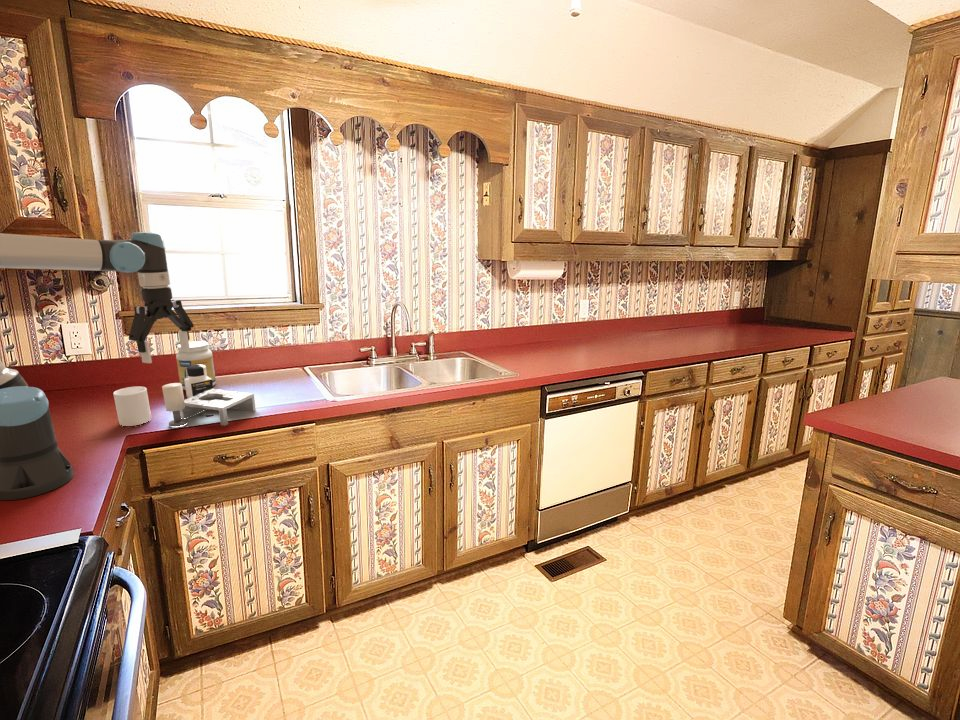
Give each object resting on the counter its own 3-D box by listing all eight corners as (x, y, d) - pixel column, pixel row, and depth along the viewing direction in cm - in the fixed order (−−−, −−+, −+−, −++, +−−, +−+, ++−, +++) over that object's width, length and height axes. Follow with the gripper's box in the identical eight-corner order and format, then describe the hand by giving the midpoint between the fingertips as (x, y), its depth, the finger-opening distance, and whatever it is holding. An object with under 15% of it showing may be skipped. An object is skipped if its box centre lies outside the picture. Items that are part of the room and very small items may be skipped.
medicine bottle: (193, 401, 177) (188, 369, 173) (186, 397, 181) (181, 365, 178) (214, 397, 182) (210, 365, 178) (207, 392, 186) (202, 361, 183)
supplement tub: (180, 393, 185) (173, 349, 180) (181, 384, 195) (174, 342, 190) (217, 388, 190) (211, 346, 186) (215, 380, 201) (210, 339, 196)
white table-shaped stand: (224, 425, 156) (222, 407, 155) (181, 419, 161) (178, 402, 159) (255, 410, 169) (253, 393, 168) (214, 404, 174) (212, 388, 172)
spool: (178, 429, 153) (171, 389, 150) (164, 427, 155) (157, 387, 151) (191, 423, 158) (185, 383, 155) (178, 421, 160) (172, 382, 156)
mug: (152, 412, 167) (146, 381, 164) (152, 424, 157) (146, 392, 154) (120, 417, 162) (114, 386, 159) (118, 429, 153) (112, 397, 150)
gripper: (125, 292, 132) (139, 369, 138) (200, 282, 155) (209, 348, 161) (104, 291, 134) (118, 366, 140) (180, 281, 157) (190, 346, 163)
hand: (167, 356), depth 151 cm, fingers open, 13 cm apart
